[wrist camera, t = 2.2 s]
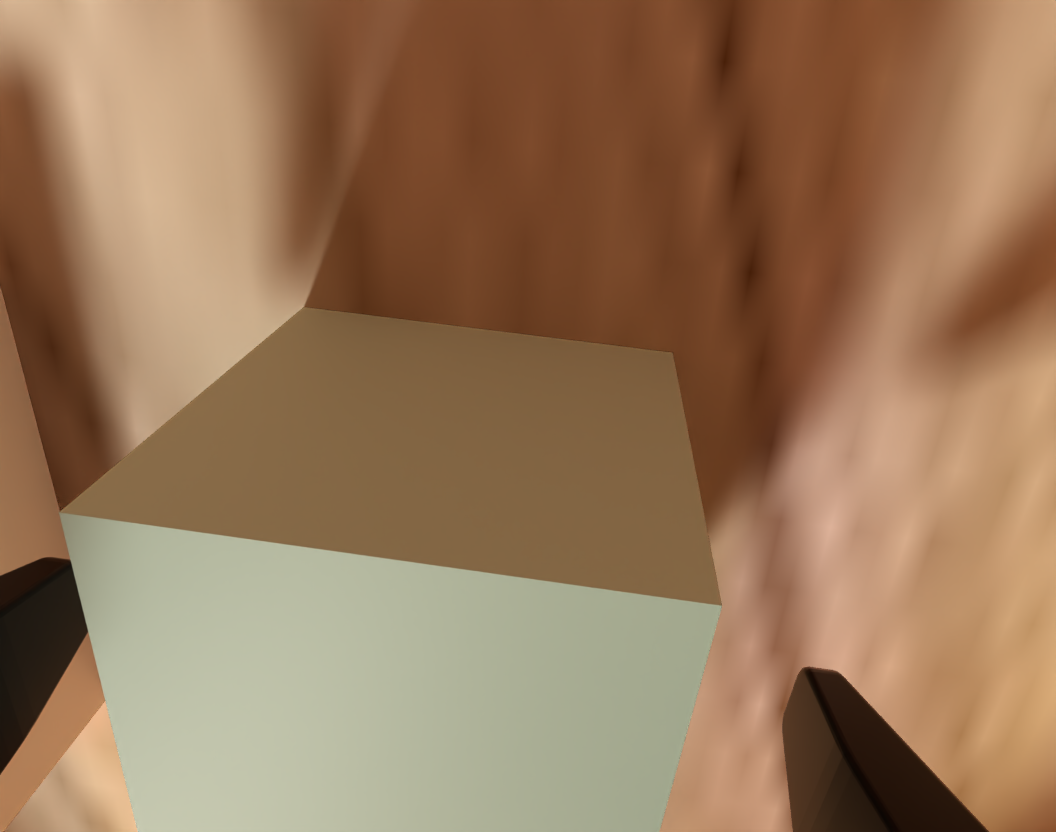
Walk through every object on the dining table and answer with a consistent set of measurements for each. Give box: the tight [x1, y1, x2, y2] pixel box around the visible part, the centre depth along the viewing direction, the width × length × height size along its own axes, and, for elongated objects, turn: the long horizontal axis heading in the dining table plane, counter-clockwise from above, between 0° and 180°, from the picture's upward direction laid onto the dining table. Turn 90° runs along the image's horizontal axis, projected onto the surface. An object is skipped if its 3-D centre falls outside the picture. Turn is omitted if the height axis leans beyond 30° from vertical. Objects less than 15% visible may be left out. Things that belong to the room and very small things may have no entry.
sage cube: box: [59, 307, 722, 832], centre depth 10 cm, size 6×6×6 cm
